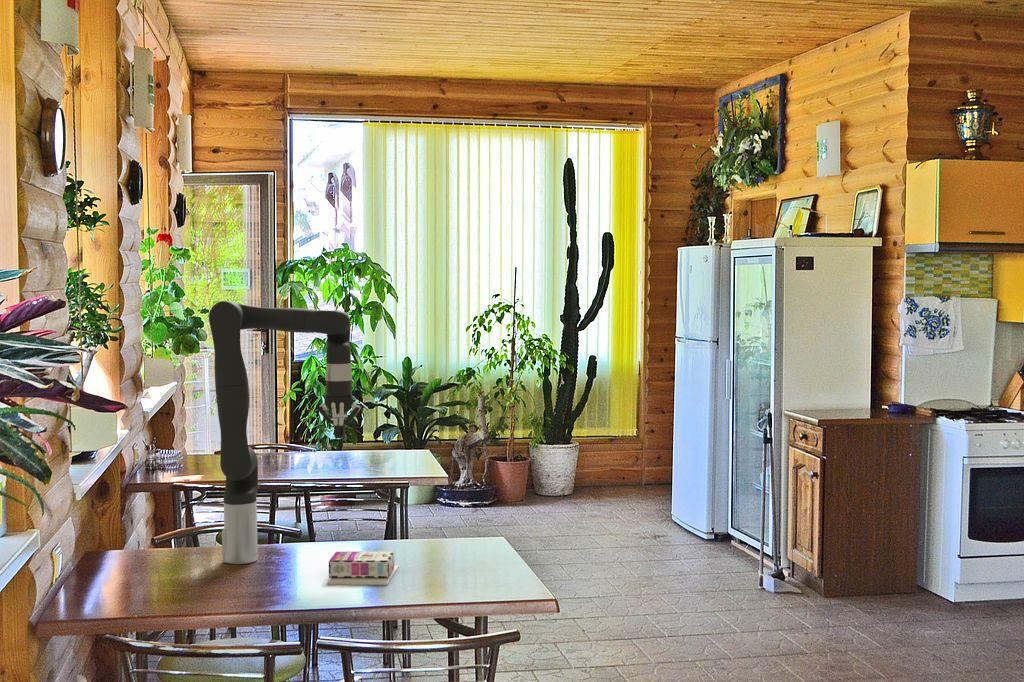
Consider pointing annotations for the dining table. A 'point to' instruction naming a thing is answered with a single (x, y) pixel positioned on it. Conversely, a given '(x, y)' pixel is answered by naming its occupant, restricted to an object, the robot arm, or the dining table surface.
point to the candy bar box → (361, 564)
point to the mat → (364, 580)
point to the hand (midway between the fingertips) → (339, 438)
